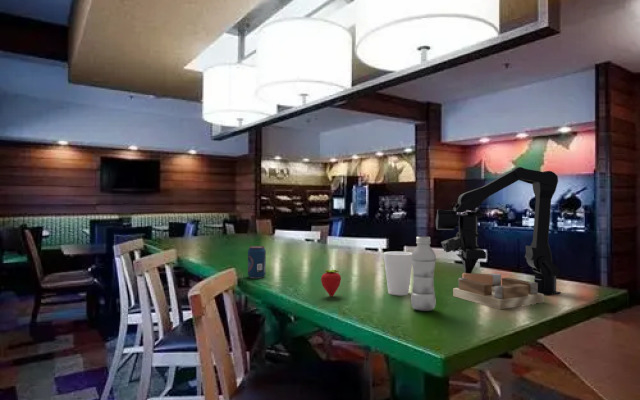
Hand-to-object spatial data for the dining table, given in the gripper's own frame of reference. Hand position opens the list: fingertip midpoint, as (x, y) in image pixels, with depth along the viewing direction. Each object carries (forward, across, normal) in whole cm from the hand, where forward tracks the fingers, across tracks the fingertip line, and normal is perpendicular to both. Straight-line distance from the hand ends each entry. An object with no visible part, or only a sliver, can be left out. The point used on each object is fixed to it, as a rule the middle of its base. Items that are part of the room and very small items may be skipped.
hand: (467, 276), depth 142 cm
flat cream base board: (+4, +13, +5) cm, 15 cm away
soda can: (+5, -20, -76) cm, 79 cm away
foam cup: (+5, +6, -24) cm, 25 cm away
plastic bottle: (+4, +28, -20) cm, 35 cm away
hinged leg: (+2, +3, +4) cm, 5 cm away
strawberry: (+4, +12, -46) cm, 47 cm away
